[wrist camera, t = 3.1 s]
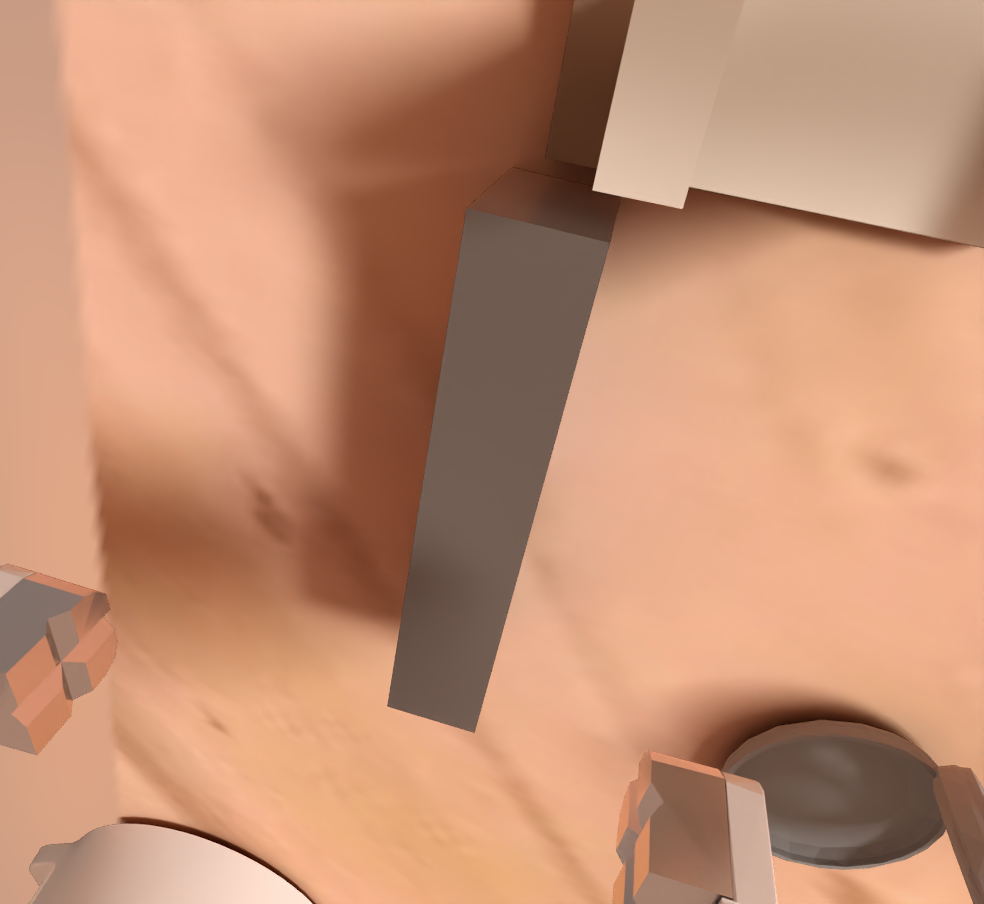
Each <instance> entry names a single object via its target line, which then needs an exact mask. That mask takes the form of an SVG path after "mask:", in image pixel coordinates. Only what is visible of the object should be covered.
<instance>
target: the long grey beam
mask: <svg viewBox="0 0 984 904" xmlns="http://www.w3.org/2000/svg"><path fill="white" fill-rule="evenodd" d="M592 189H593V186H589V185H584V184H580V183H576V182H572V181H568V180H563V179H559V178H555V177H551V176H547V175H542V174H538V173H534V172H530V171H526V170H521V169H517V168H513V167H512V168H511V169H510V170H509V171H508V172H507V173H505V174H504V175H503V176H502V177H501V178H500V179H499V180H497V181H496V182H495V183H494V184H493V185H492V186H491V187H490V188H488V189H487V190H486V191H485V192H484V193H483V194H482V195H481V196H479V197H478V198H477V199H476V200H475V201H474V202H473V203H471V204H470V205H469V206H468V207H467V208H466V214H465V220H464V227H463V233H462V239H461V245H460V252H459V258H458V264H457V271H456V277H455V283H454V290H453V296H452V302H451V308H450V315H449V321H448V327H447V334H446V340H445V346H444V353H443V359H442V365H441V371H440V378H439V384H438V390H437V397H436V403H435V409H434V415H433V422H432V428H431V434H430V441H429V447H428V453H427V460H426V466H425V472H424V478H423V485H422V491H421V497H420V504H419V510H418V516H417V523H416V529H415V535H414V541H413V548H412V554H411V560H410V567H409V573H408V579H407V586H406V592H405V598H404V604H403V611H402V617H401V623H400V630H399V636H398V642H397V648H396V655H395V661H394V667H393V674H392V680H391V686H390V693H389V699H388V705H387V706H388V707H391V708H394V709H398V710H401V711H404V712H407V713H411V714H414V715H417V716H421V717H424V718H427V719H431V720H434V721H437V722H440V723H444V724H447V725H450V726H454V727H457V728H460V729H463V730H467V731H470V732H473V733H475V729H476V726H477V722H478V718H479V715H480V711H481V708H482V704H483V700H484V697H485V693H486V689H487V686H488V682H489V679H490V675H491V671H492V668H493V664H494V661H495V657H496V653H497V650H498V646H499V642H500V639H501V635H502V632H503V628H504V624H505V621H506V617H507V613H508V610H509V606H510V603H511V599H512V595H513V592H514V588H515V585H516V581H517V577H518V574H519V570H520V566H521V563H522V559H523V556H524V552H525V548H526V545H527V541H528V538H529V534H530V530H531V527H532V523H533V519H534V516H535V512H536V509H537V505H538V501H539V498H540V494H541V491H542V487H543V483H544V480H545V476H546V472H547V469H548V465H549V462H550V458H551V454H552V451H553V447H554V443H555V440H556V436H557V433H558V429H559V425H560V422H561V418H562V415H563V411H564V407H565V404H566V400H567V396H568V393H569V389H570V386H571V382H572V378H573V375H574V371H575V368H576V364H577V360H578V357H579V353H580V349H581V346H582V342H583V339H584V335H585V331H586V328H587V324H588V321H589V317H590V313H591V310H592V306H593V302H594V299H595V295H596V292H597V288H598V284H599V281H600V277H601V273H602V270H603V266H604V263H605V259H606V255H607V252H608V248H609V245H610V241H611V236H612V232H613V228H614V224H615V220H616V215H617V211H618V207H619V203H620V198H621V196H617V195H612V194H607V193H603V192H598V191H593V190H592Z"/></svg>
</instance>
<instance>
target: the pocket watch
mask: <svg viewBox="0 0 984 904" xmlns="http://www.w3.org/2000/svg"><path fill="white" fill-rule="evenodd" d="M721 771H722V772H725V773H729V774H733V775H737V776H740V777H744V778H748V779H752V780H755V781H757V782H759V783H760V785H761V787H762V789H763V791H764V795H765V803H766V811H767V820H768V828H769V836H770V844H771V852H772V855H773V856H776V857H778V858H781V859H783V860H786V861H791V862H795V863H800V864H805V865H809V866H814V867H819V868H827V869H842V870H844V869H863V868H872V867H876V866H880V865H885V864H889V863H893V862H897V861H902V860H906V859H908V858H910V857H912V856H914V855H916V854H918V853H920V852H922V851H924V850H926V849H928V848H929V847H930V846H931V845H932V844H933V843H934V842H936V841H937V840H938V839H939V838H940V837H941V836H942V835H943V834H944V832H945V830H947V833H948V835H949V838H950V841H951V844H952V847H953V850H954V852H955V855H956V858H957V861H958V863H959V866H960V869H961V871H962V874H963V877H964V880H965V882H966V885H967V888H968V890H969V893H970V896H971V899H972V901H973V904H984V789H983V787H982V785H981V783H980V782H979V780H978V779H977V777H976V776H975V774H974V773H973V771H972V770H971V768H962V767H958V766H955V765H951V766H940V767H938V766H937V764H936V763H935V762H934V761H933V760H932V759H931V758H930V757H929V756H928V754H926V753H925V752H924V751H923V750H921V749H920V748H918V747H917V746H915V745H914V744H912V743H911V742H909V741H907V740H905V739H903V738H901V737H900V736H898V735H896V734H894V733H891V732H888V731H885V730H881V729H878V728H875V727H872V726H868V725H865V724H862V723H852V722H841V721H831V720H815V721H808V722H801V723H794V724H787V725H780V726H776V727H774V728H772V729H770V730H768V731H765V732H763V733H761V734H759V735H756V736H754V737H752V738H750V739H748V740H747V741H746V742H744V743H743V744H742V745H741V746H740V747H739V748H738V749H737V750H735V751H734V752H733V753H732V754H731V755H730V756H729V757H728V758H727V760H726V762H725V764H724V766H723V768H722V770H721Z"/></svg>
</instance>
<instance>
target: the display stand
mask: <svg viewBox="0 0 984 904" xmlns="http://www.w3.org/2000/svg"><path fill="white" fill-rule="evenodd" d="M545 158H547V159H552V160H557V161H562V162H567V163H571V164H576V165H581V166H586V167H591V168H596V169H597V171H596V176H595V180H594V185H593V189H592V190H593V191H598V192H603V193H607V194H612V195H617V196H622V197H627V198H631V199H636V200H641V201H646V202H651V203H655V204H660V205H665V206H670V207H675V208H679V209H683V206H684V203H685V199H686V196H687V193H688V189H689V188H693V189H698V190H703V191H708V192H713V193H717V194H722V195H727V196H732V197H737V198H742V199H747V200H752V201H756V202H761V203H766V204H771V205H776V206H781V207H786V208H790V209H795V210H800V211H805V212H810V213H815V214H820V215H825V216H829V217H834V218H839V219H844V220H849V221H854V222H859V223H863V224H868V225H873V226H878V227H883V228H888V229H893V230H898V231H902V232H907V233H912V234H917V235H922V236H927V237H932V238H936V239H941V240H946V241H951V242H956V243H961V244H966V245H971V246H975V247H980V248H984V0H574V4H573V9H572V15H571V20H570V26H569V31H568V36H567V42H566V47H565V53H564V58H563V63H562V69H561V74H560V80H559V85H558V90H557V96H556V101H555V107H554V112H553V117H552V123H551V128H550V134H549V139H548V144H547V150H546V155H545Z"/></svg>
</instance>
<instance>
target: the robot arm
mask: <svg viewBox="0 0 984 904" xmlns="http://www.w3.org/2000/svg"><path fill="white" fill-rule="evenodd" d="M109 610H110V607H109V603H108V600H107V597H106V594H105V593H102V592H99V591H95V590H92V589H88V588H85V587H82V586H79V585H76V584H72V583H69V582H66V581H62V580H59V579H56V578H53V577H49V576H46V575H43V574H41V573H38V572H34V571H31V570H27V569H24V568H21V567H17V566H14V565H10V564H6V565H3V566H0V745H3V746H7V747H10V748H13V749H17V750H20V751H24V752H27V753H31V754H35V755H38V754H39V753H40V751H41V750H42V749H43V748H44V747H45V746H46V744H47V743H48V742H49V741H50V740H51V739H52V738H53V736H54V735H55V734H56V733H57V731H59V729H60V728H61V727H62V726H63V725H64V724H65V722H66V721H67V720H68V719H69V718H70V717H71V713H72V702H73V700H74V699H76V698H78V697H80V696H82V695H84V694H87V693H88V692H91V691H93V690H94V689H95V687H96V686H97V685H98V684H99V683H100V681H101V680H102V679H103V678H104V676H105V675H106V674H107V672H108V670H109V668H110V666H111V664H112V662H113V659H114V657H115V655H116V648H117V637H116V632H115V629H114V628H113V627H112V626H111V625H110V623H109V622H108V621H107V620H106V619H105V618H104V617H103V616H104V615H105V614H106V613H107V612H108V611H109ZM616 851H617V853H618V855H619V857H620V859H621V861H622V863H623V865H624V866H623V867H622V869H621V871H620V873H619V875H618V877H617V879H616V881H615V883H614V888H613V904H778V902H777V893H776V885H775V877H774V869H773V861H772V852H771V844H770V836H769V828H768V820H767V811H766V803H765V795H764V791H763V789H762V787H761V785H760V783H759V782H757V781H755V780H752V779H748V778H744V777H740V776H737V775H733V774H729V773H725V772H722V771H720V770H719V769H716V768H712V767H709V766H705V765H701V764H698V763H694V762H690V761H687V760H683V759H679V758H676V757H672V756H668V755H665V754H661V753H657V752H654V751H650V750H648V751H647V752H646V753H644V755H643V757H642V759H641V761H640V763H639V778H638V779H637V780H635V781H632V782H630V785H629V787H628V790H627V792H626V794H625V797H624V801H623V805H622V809H621V813H620V818H619V825H618V833H617V845H616ZM29 869H30V872H31V874H32V876H33V877H34V879H35V880H36V882H37V883H38V885H39V886H40V887H39V889H38V891H37V892H36V893H35V895H34V897H33V898H32V900H31V901H30V903H29V904H312V903H311V902H310V901H309V900H308V899H307V898H306V897H305V896H304V895H303V894H302V893H301V892H299V891H298V890H297V889H296V888H294V887H293V886H292V885H291V884H289V883H288V882H287V881H285V880H284V879H283V878H281V877H280V876H278V875H277V874H275V873H274V872H272V871H270V870H269V869H267V868H266V867H264V866H262V865H260V864H259V863H257V862H255V861H253V860H251V859H250V858H248V857H246V856H244V855H242V854H240V853H238V852H236V851H233V850H231V849H229V848H227V847H224V846H222V845H219V844H217V843H215V842H212V841H209V840H206V839H204V838H201V837H198V836H195V835H191V834H188V833H185V832H181V831H177V830H173V829H168V828H164V827H158V826H152V825H144V824H113V825H107V826H103V827H100V828H97V829H94V830H92V831H90V832H89V833H87V834H86V835H85V836H83V837H82V838H81V839H80V840H78V841H76V842H74V843H65V844H51V845H46V846H43V847H42V848H41V849H40V850H39V852H38V854H37V855H36V857H35V858H34V860H33V862H32V863H31V865H30V867H29Z"/></svg>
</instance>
